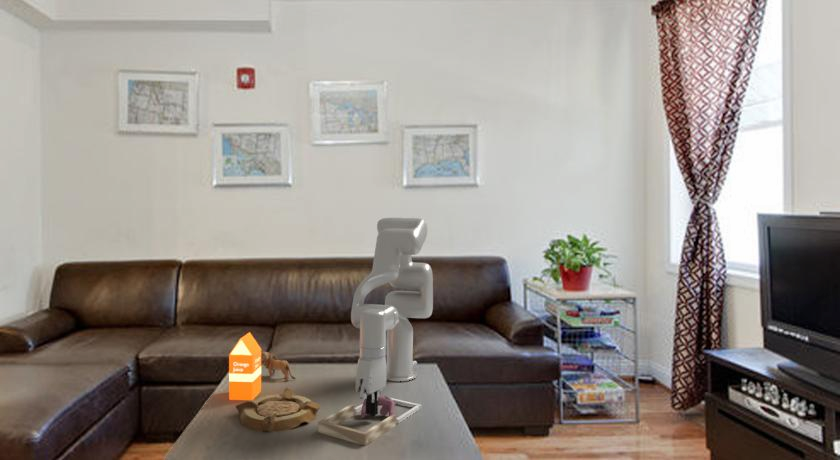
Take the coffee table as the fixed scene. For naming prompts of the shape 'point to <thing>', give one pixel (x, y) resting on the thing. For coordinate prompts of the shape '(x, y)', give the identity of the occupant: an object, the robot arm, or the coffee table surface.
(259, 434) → the coffee table surface
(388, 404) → the video game controller
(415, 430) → the coffee table surface
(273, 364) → the lion figurine
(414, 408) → the white bay
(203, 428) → the coffee table surface
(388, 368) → the robot arm
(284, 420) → the ashtray
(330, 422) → the wooden u-shaped frame
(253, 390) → the orange juice
